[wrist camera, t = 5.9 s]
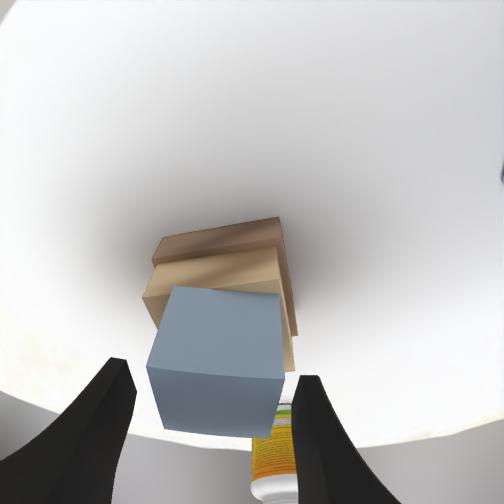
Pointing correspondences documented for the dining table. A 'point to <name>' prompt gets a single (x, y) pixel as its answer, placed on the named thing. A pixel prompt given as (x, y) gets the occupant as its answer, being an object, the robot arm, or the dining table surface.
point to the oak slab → (223, 283)
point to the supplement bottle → (275, 463)
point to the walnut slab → (230, 249)
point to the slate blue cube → (218, 362)
